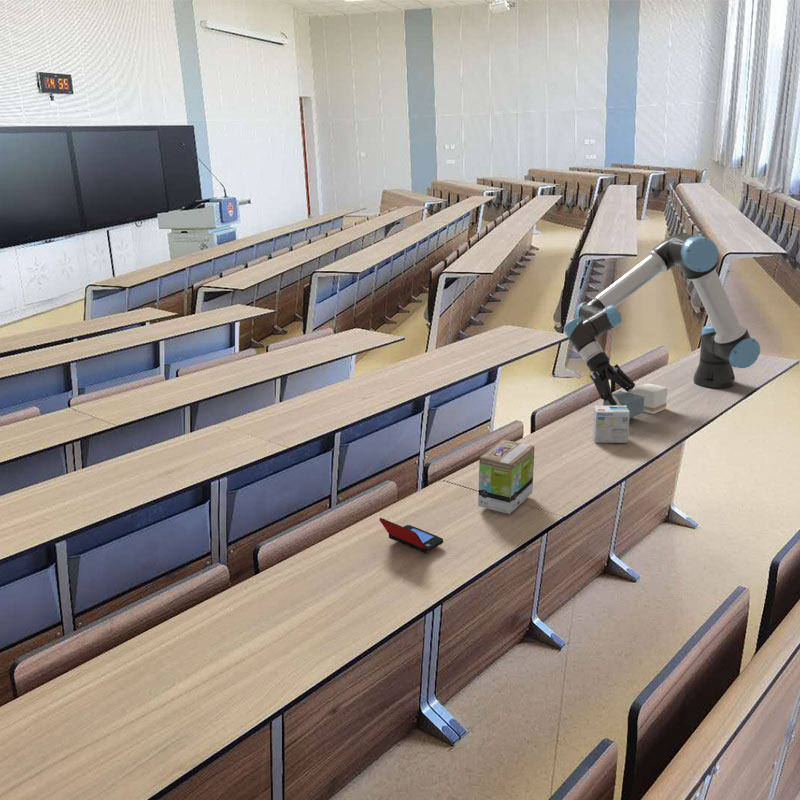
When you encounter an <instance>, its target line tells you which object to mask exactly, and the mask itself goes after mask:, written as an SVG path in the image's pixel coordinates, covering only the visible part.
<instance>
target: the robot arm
mask: <svg viewBox="0 0 800 800" xmlns="http://www.w3.org/2000/svg"><path fill="white" fill-rule="evenodd" d="M718 258H719V249H718V247H717V244H716V242H714V241H713V240H711V238H707V237H706V236H704V235H695V234H689V233H686V232H682V233H681V232H680V233H676V234H673V235H671V236H669V237H668V238H666V239H664V240H662V242H660V243H659V244H657V245H656V246H654V248H652V249H651V250H650V251H648V255H647V256H646V257H645V258H643V259H642V261H641V260H640V262H638V263H637V264H636V265H634V267H632V268H631V269H630V270H628V271H627V272H626V273H624V274H623V275H622V276H621V277H620V278H618V279H617V280H616V281H614V282H613V283H611V284H610V285H609V286H608V287H607V288H605V289H604V290H603V291H601V292H600V293H598V294H597V295H596V296H595V297H594V298H592V299H591V300H589V301H584V302H581V303H579V304H578V305H577V307H576V310H575V315H576V317H575V318H573V319H571V320H569V321H568V322H566V324H564V327H563V331H564V333H565V335H566V337H567V338H568V340H569V341H570V344H571V345H572V346H573V347H574V348H575V349H576V351H577V352H578V354H579V355H580V357H581V358H582V360H583V361H584V363H586V366H587V368H588V369H589V370H590V371H591V372H592V373H591V374H590V375H589V377H590V379H591V380H592V381H593V383H594V386H595V388H596V391H597V393H598V394H599V395H598V396H599V398H600V399H601V400H603V399H604V400H605V401H607V400H608V401H609V403H610V404H611V406H621V404H620V403H619V401H618V400H617V398H616V397H615V395H613V396H612V394H613V393H612V389H611V384H610V381H611V382H614V383H615V384H617V385H618V386H619V387H621V388H622V389H623V390H624V391H625V392H627V393H631V394H635V395H637V394H636V392H635V388H636V384H635V382H634V381H633V380H632V379H631V378H630V377H629V376H628V375H627V374H626V373H625V372H624V371H623V370H622V369H621V367H620V366H619V365H618V364H617V363H616V364H615V365H611V363H610V358H609V356H608V355H607V354H606V352H604V349H603V347H602V346H601V344H599V342H598V341H597V338H599V336H602V335H603V334H605V333H607V332H609V331H610V330H612V329H614V328H615V327H617V326H618V325H620V324H621V323H622V322H623V321H622V315H621V313H620V312H619V310H618V308H617V306H619V305H620V304H621V303H623V302H624V301H625V300H627V299H628V298H629V297H630V296H632V295H634V293H636V292H637V291H638V290H639V289H641V288H642V287H643V286H645V285H646V284H647V283H648V282H650V281H651V280H652V279H654V278H655V277H657V276H658V275H659V274H660V273H666V272H668V271H669V270H671V269H672V268H674V267H680V268H681V271H682V272H683V274H684V277H685V279H686V280H688V281H692V283H693V286H694V287H695V290H696V292H697V294H698V296H699V299H700V301H701V303H702V305H703V307H704V311H705V312H706V314H707V317H708V318H709V320H710V323H711V324H709V325H705V326H703V327H702V329H701V334H700V337H701V338H700V351H699V363H698V366H697V367H696V370H695V373H694V375H693V381H694V382H693V384H696V385H698V386H701V387H705V388H713V389H714V388H716V389H719V388H721V389H723V388H730V387H733V386H734V385H735V383H736V377H735V373H734V369H733V367H734V368H737V369H746V368H749V367H751V366H753V365H754V364H755V363H756V361H757V360H758V358H759V356H760V354H761V345H760V343H759V342H758V341H757V339H755V338H752V337H751V335H750V333H749V331H748V328H747V326H746V325H745V324H741V323H740V321H739V319H738V317H737V314H736V313H735V310H734V308H733V306H732V303H731V302H730V299H729V297H728V295H727V293H726V290H725V288H724V286H723V284H722V281H721V279H720V276H719V275H718V272H717V269H718V267H719V262H718Z"/></svg>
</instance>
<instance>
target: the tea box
mask: <svg viewBox="0 0 800 800" xmlns="http://www.w3.org/2000/svg"><path fill="white" fill-rule="evenodd" d="M478 461H479V467H478V497H477V499H478V500H477V506H478V507H480V508H481V507H482V508H483V509H488V510H492V511H496V512H499V513H504V514H507V515H510V514H511V513H512V512H513V511H514V510H516V508H518V507H519V506H520V505H522V503H524V501H525V500H526V499H527V498H529V497H530V496H531V495H532V494H533V488H534V487H533V485H534V466H535V445H531V444H527V443H522V442H517V441H512V440H507V439H501V440H500V441H499V442H498V443H496V444H495V445H494V446H492V447H491V448H490V449H488V450H487V451H486V452H484V453H483V454H482V455H481V456H479V460H478Z"/></svg>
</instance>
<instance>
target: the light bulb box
mask: <svg viewBox="0 0 800 800" xmlns="http://www.w3.org/2000/svg"><path fill="white" fill-rule="evenodd" d="M629 415H630V412H629V410H628V408H627V406H626V405H623V406H603V405H593V423H592V424H593V427H592V430H593V431H592V432H593V433H592V436H593V440H594V443H605V444H607V443H614V444H615V443H617V444H619V443H621V444H622V443H623V444H624V443H626V444H627V443H629V429H630V418H629Z"/></svg>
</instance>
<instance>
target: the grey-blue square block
mask: <svg viewBox="0 0 800 800" xmlns="http://www.w3.org/2000/svg"><path fill="white" fill-rule="evenodd" d="M613 395H615V397H616V398H617V400H618V401H619V403H620V404H621V406H623V405H626V406H627V408H628V410H629V412H630V415H629V419H631V418H634V417H636V416H638V415H642V414H644V412H643V411H644V396H639V395H635V394H631V393H627V391H622V390H620V391H616V392H613V393H612V396H613ZM602 400H603V403H602V406H611V404H610V403H609V401H608V400H607V401H605V400H604V399H602Z"/></svg>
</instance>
